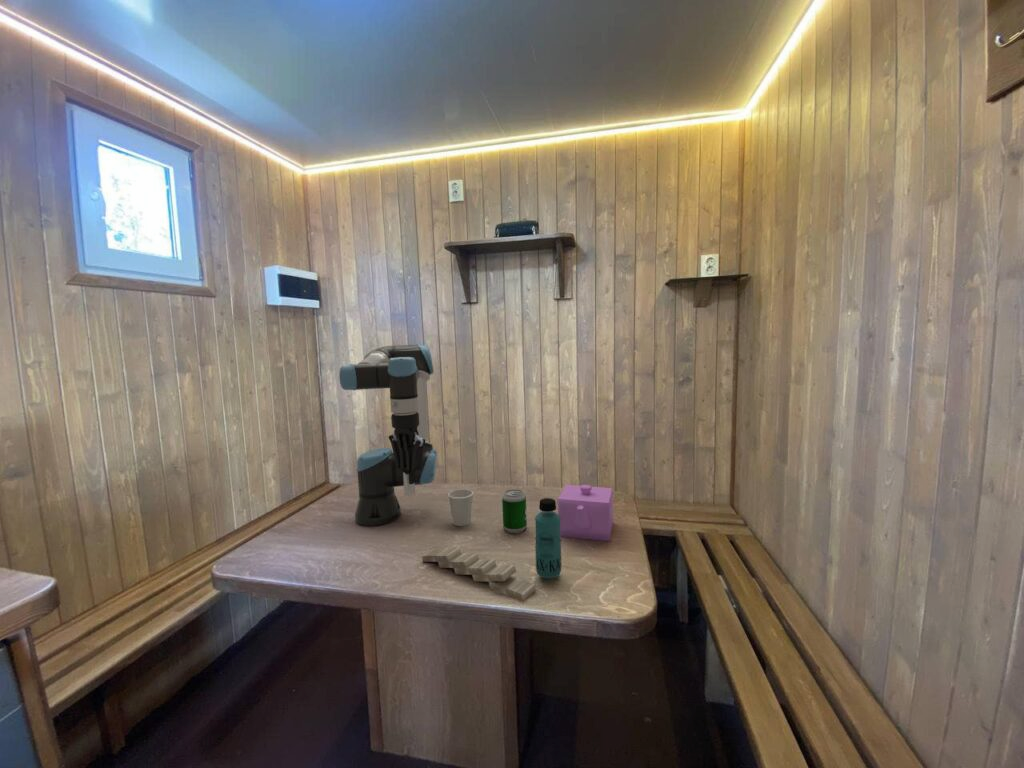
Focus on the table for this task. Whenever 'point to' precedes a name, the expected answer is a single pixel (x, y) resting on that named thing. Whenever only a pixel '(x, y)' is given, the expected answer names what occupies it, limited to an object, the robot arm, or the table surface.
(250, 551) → the table surface
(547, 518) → the beverage bottle
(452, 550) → the domino
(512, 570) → the domino
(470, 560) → the domino
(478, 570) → the domino
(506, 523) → the soda can
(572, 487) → the purple lidded box
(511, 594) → the domino
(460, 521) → the dixie cup
